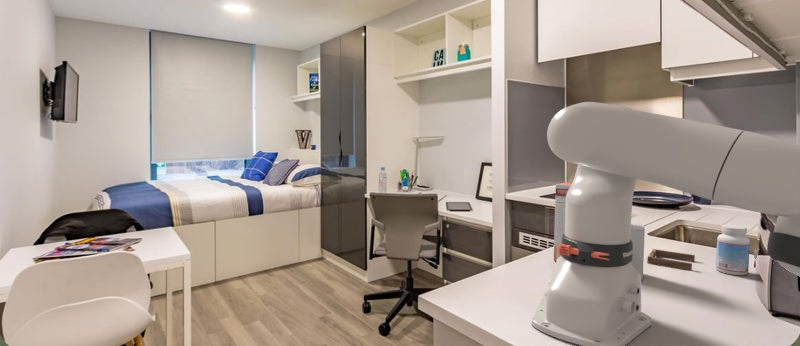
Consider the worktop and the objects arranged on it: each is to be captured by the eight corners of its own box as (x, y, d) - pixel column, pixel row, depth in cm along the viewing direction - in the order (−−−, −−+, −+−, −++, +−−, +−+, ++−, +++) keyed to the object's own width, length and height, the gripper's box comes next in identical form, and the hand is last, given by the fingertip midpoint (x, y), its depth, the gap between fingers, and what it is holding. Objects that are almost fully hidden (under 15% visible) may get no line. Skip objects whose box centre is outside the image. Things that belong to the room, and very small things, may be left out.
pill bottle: (754, 277, 92) (757, 229, 91) (724, 275, 94) (727, 228, 93) (737, 268, 98) (740, 224, 97) (709, 267, 100) (712, 223, 99)
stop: (691, 270, 97) (691, 264, 97) (647, 263, 103) (647, 257, 103) (694, 261, 104) (694, 255, 104) (653, 254, 110) (653, 248, 110)
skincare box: (622, 270, 98) (624, 222, 96) (642, 273, 95) (644, 224, 94) (621, 278, 92) (623, 227, 91) (642, 281, 90) (645, 229, 89)
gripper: (850, 294, 77) (755, 279, 86) (830, 267, 93) (751, 257, 101) (853, 262, 76) (757, 250, 85) (832, 241, 92) (753, 233, 101)
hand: (754, 254), depth 93 cm, fingers closed
